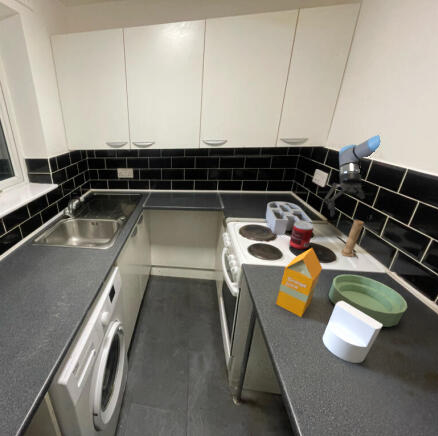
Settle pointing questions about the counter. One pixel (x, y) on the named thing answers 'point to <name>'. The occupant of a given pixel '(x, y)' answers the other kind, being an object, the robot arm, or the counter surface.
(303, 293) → the orange juice
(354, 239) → the muddler
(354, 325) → the base with upright slab
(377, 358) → the counter surface
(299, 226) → the canned food
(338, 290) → the bowl
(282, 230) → the grey compartment organizer
